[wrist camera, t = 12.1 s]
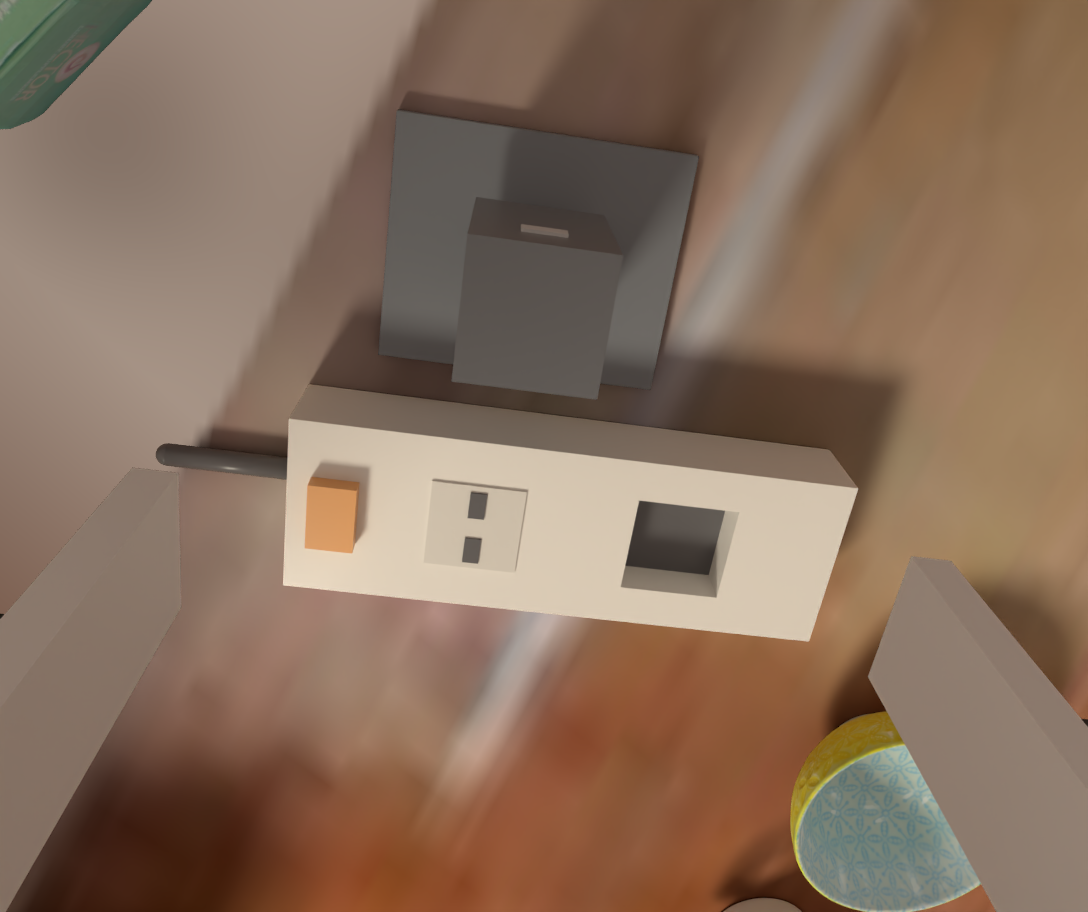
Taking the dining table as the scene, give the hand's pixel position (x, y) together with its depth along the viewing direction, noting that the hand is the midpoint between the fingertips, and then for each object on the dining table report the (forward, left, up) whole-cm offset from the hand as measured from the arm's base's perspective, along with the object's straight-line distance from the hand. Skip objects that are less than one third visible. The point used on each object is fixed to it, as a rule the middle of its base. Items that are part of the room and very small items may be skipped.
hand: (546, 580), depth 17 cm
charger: (0, 0, -24) cm, 24 cm away
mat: (0, 0, -25) cm, 25 cm away
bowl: (+22, -24, -25) cm, 41 cm away
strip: (0, -11, -25) cm, 27 cm away
